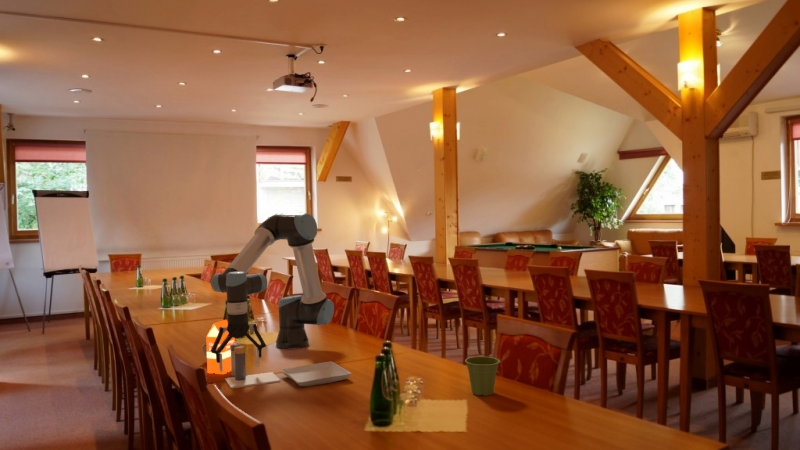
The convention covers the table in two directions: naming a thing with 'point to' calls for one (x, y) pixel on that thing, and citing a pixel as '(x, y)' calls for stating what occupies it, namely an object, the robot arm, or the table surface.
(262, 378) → the paper
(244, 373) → the marker
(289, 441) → the table surface
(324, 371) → the salad plate
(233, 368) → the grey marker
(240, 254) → the robot arm
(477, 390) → the plant pot
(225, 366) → the orange juice
